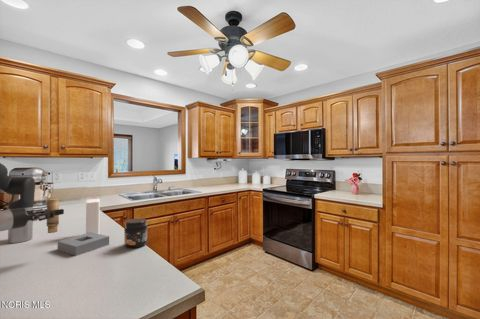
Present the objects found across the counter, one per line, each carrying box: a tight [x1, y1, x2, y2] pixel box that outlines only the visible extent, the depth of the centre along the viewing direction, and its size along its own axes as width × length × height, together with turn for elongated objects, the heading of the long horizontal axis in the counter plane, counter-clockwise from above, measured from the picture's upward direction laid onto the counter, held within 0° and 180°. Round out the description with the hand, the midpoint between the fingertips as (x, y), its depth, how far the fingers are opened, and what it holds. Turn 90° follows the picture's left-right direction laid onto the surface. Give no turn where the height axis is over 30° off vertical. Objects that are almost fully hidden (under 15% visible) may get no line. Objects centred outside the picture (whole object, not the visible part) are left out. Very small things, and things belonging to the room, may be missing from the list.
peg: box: [46, 198, 60, 234], centre depth 96 cm, size 4×4×14 cm
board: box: [57, 232, 110, 256], centre depth 108 cm, size 15×15×4 cm
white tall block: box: [85, 195, 101, 234], centre depth 126 cm, size 6×6×22 cm
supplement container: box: [123, 218, 148, 249], centre depth 111 cm, size 10×10×12 cm
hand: (60, 210), depth 99 cm, fingers closed on peg, 4 cm apart
